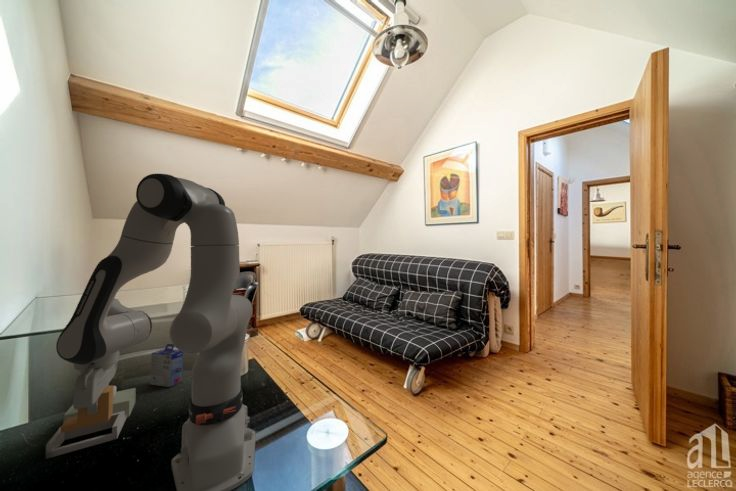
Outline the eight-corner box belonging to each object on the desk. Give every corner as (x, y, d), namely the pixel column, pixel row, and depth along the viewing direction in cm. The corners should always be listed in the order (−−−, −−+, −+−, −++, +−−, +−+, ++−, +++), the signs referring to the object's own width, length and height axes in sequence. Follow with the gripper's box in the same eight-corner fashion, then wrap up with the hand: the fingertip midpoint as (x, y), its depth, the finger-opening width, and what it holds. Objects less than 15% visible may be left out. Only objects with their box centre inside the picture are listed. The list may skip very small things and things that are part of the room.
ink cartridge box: (183, 380, 104) (184, 344, 104) (170, 387, 99) (171, 349, 99) (163, 378, 106) (163, 342, 106) (149, 385, 101) (150, 347, 101)
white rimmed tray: (119, 438, 72) (119, 408, 72) (42, 459, 65) (43, 426, 65) (135, 402, 89) (135, 378, 89) (76, 416, 82) (76, 390, 82)
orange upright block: (108, 421, 73) (109, 392, 73) (60, 432, 68) (61, 401, 68) (112, 413, 76) (113, 385, 76) (67, 424, 71) (68, 394, 71)
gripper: (101, 369, 66) (99, 424, 66) (122, 344, 83) (121, 388, 83) (64, 375, 63) (62, 434, 62) (94, 348, 80) (93, 393, 80)
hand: (96, 407), depth 73 cm, fingers closed on orange upright block, 4 cm apart
